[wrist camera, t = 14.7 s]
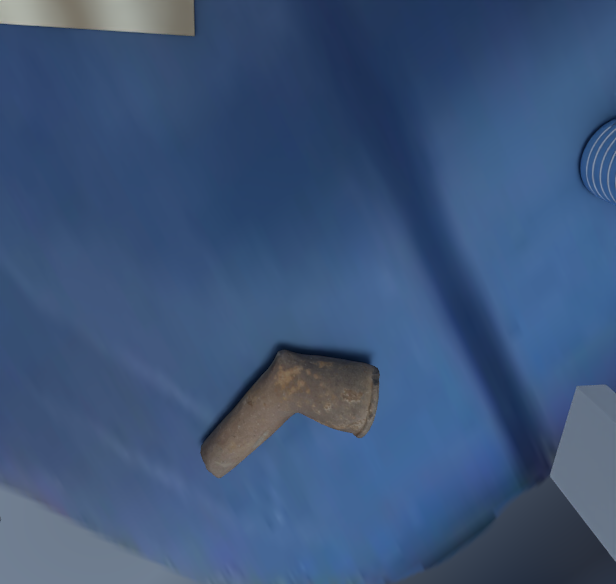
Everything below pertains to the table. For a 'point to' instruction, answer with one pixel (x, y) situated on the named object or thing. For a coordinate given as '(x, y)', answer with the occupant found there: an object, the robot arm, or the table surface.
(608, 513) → the robot arm
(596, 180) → the water bottle
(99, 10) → the birch board
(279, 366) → the pipe
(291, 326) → the table surface
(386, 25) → the table surface
